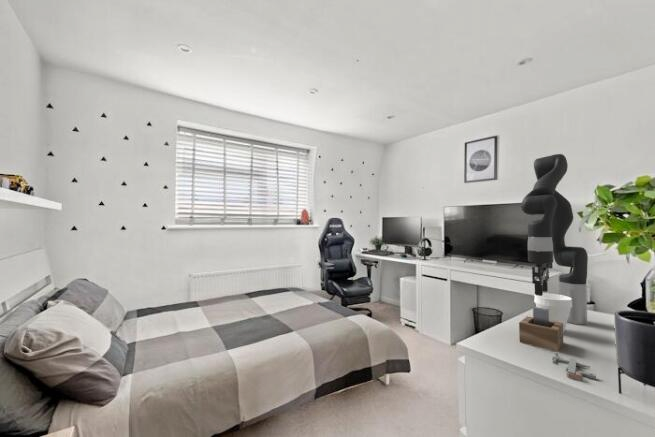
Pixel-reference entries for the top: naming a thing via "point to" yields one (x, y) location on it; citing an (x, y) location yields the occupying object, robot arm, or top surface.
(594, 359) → the top surface
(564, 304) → the cup
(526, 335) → the well block
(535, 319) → the grey upright bar
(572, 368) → the clamp
